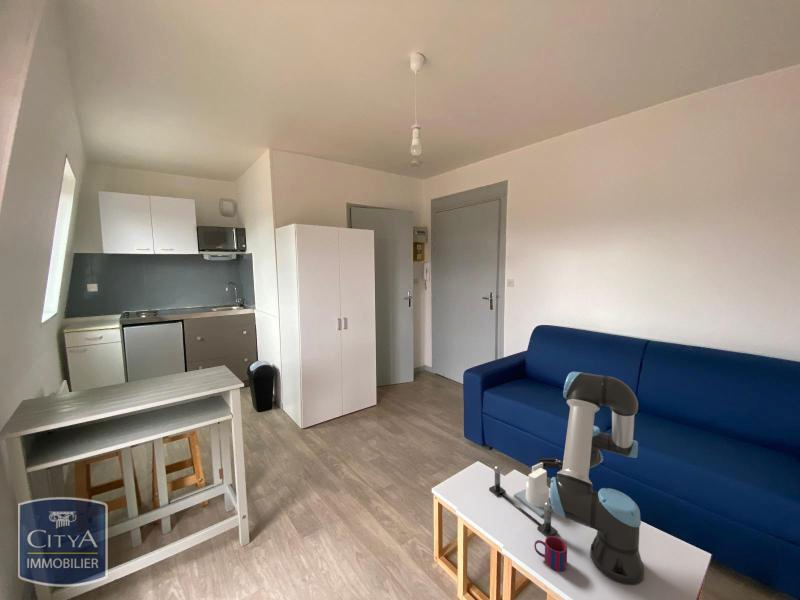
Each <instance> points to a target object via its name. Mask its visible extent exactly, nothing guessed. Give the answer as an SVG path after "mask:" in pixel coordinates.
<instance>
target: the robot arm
mask: <svg viewBox="0 0 800 600" xmlns="http://www.w3.org/2000/svg"><path fill="white" fill-rule="evenodd" d="M562 393H563V395H562V396H563V398H564V399H566V404H567V405H568V407H569V412H568V413H569V414H568V421H567V430H566V437H565V446H564V452H563V453H564V454H563V460H559V458H558V457H557V456H556V457H551V458H550V457H548V458H537V462H536V463H535V464H534V465H532V466H531V473H532V472H534V471H536V470H538V469H539V468H542V469H544V468H546V469H553V470H554V469H555V470H556V471H557V472H556V476H552V477H551V479H550V486H549V497H550V500H551V507H552V510H553V512H554V513H555V514H556V515H558V516H560V517H563V518H564V519H566V520H570V521H572V522H574V523H577V524H580V525H583V526H585V527H588V528H590V529H593V530H596V535H595V537H594V539H593V541H592V543H591V545H590V551H589V552H590V553H589V555H590V560H591V563H593V564H594V566H595V568H596V569H597V570H598V571H600V572H601V573H602V574H603V575H605V576H606V577H607V578H610V579H611V580H612V581H615V582H618V583H620V584H623V585H630V586H631V585H639V584H641V583H642V582H643V581H644V579H645V566H644V565H645V564H644V562H643V560H642V558H641V552H640V550H639V549H640V528H641V527H640V526H641V524H642V521H641V520H642V519H641V511H640V508H639V506H638V504H637V503H636V502H635V500H633V499H632V498H631V497H630V496H629V495H628V494H626V493H624V492H622V491H619V490H618V489H614V488H609V487H607V488H606V487H602V488H600V489H599V490H598V491H596V490H593V486H594V485H593V483H592V481H591V480H590V478H589V474H590V469H591V468H594V467H597V466H599V464H602V462H603V460H604V456H603V453H602V451H605V452H609V453H613V454H617V455H620V456H621V455H622V456H625V457H626V458H627V457H629V458H633V459H636V458H638V452H639V451H638V450H639V442H638V441H637V440H636V439H635V440H634V429H635V415H636V414H637V413H638V411H639V401H638V399H637V398H638V397H637V396H636V395H635V393H634V391H633V390H632V388H630V387H629V385H628V384H626V382H625V383H624V381H622V380H620V379H618V378H615V377H613V376H608V375H601V374H600V375H599V374H593V373H587V372H582V371H581V372H580V371H571V372H569V373H568V374H567V376H566V379H565V381H564V385H563V391H562ZM601 406H603V407H609V409H610V411H611V434H610V433H606V432H601V429H600V427H598V425H594V424H595V423H594V422H595V413H597V412H599V411H600V409H601ZM601 450H602V451H601Z"/></svg>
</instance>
